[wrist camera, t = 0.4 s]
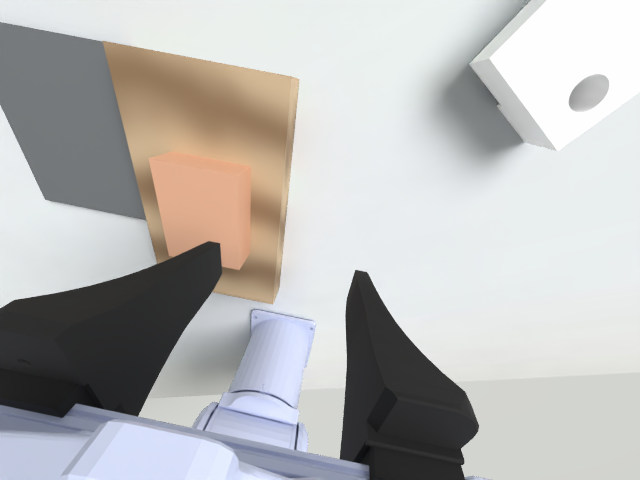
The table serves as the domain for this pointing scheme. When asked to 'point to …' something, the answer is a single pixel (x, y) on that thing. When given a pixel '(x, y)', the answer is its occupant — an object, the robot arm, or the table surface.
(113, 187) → the mat
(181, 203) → the block
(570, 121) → the bracket
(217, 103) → the board
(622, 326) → the table surface
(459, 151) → the table surface
